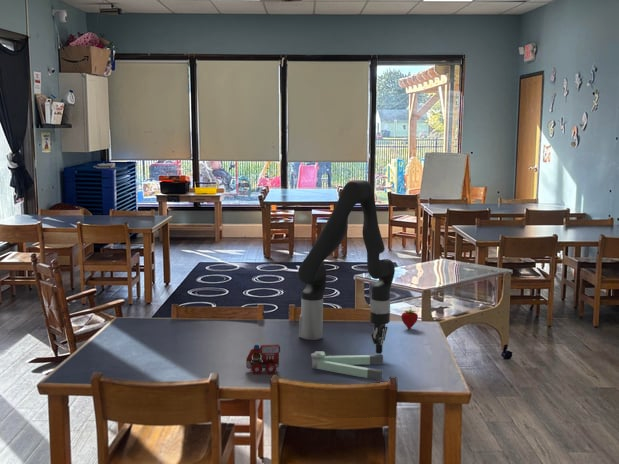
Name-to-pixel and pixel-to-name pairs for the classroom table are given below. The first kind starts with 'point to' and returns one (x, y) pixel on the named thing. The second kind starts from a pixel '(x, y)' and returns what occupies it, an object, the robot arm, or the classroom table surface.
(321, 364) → the bar
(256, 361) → the toy fire truck
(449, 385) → the classroom table surface
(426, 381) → the classroom table surface
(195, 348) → the classroom table surface
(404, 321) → the strawberry
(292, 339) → the classroom table surface
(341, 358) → the tongs arm
